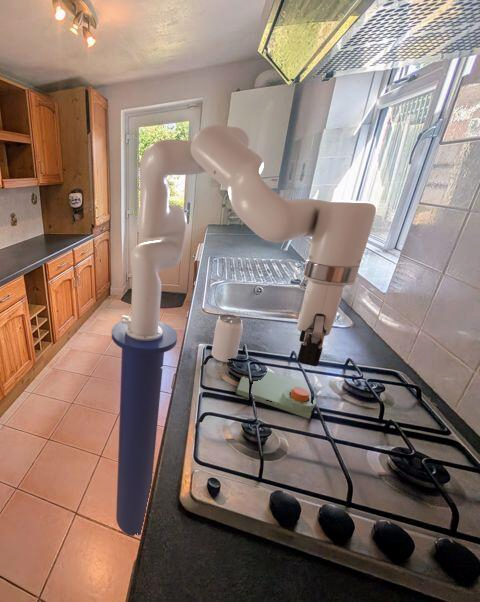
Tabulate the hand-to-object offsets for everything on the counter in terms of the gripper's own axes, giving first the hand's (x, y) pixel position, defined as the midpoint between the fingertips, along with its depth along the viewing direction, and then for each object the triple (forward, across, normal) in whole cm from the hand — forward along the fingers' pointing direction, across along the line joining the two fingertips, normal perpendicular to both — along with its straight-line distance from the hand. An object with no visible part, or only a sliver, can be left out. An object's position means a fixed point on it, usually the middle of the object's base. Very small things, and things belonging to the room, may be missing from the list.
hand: (307, 352), depth 61 cm
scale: (+13, -3, -4) cm, 14 cm away
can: (+13, -12, -17) cm, 25 cm away
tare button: (+11, 0, +1) cm, 11 cm away
